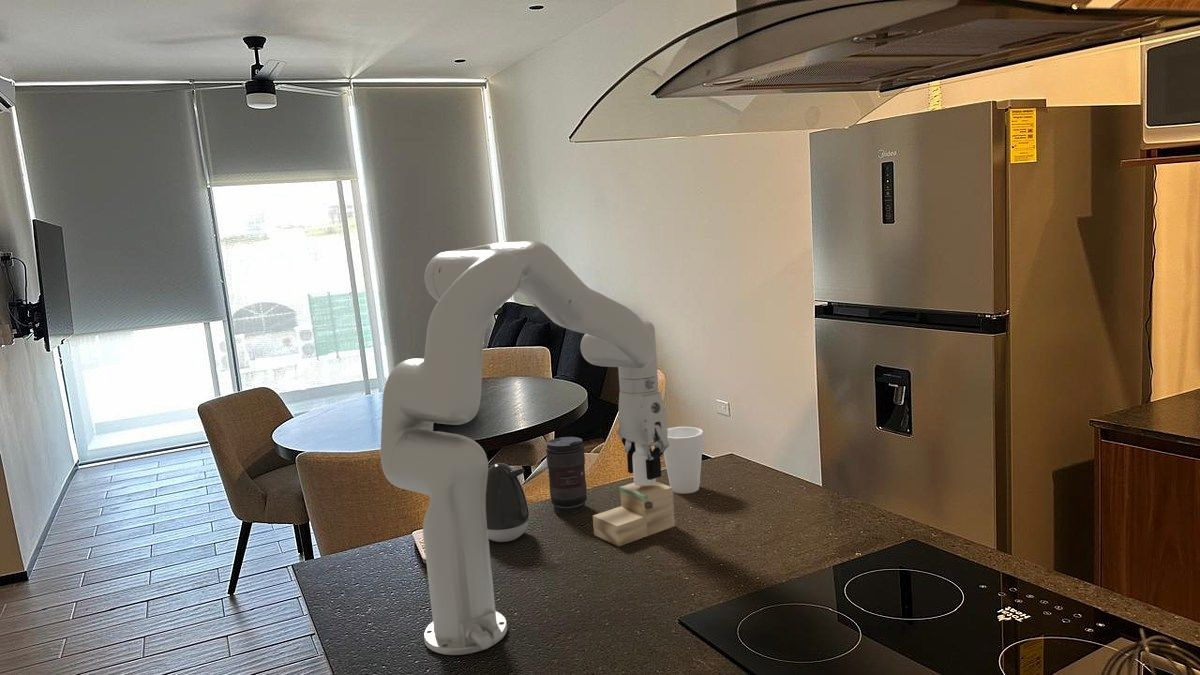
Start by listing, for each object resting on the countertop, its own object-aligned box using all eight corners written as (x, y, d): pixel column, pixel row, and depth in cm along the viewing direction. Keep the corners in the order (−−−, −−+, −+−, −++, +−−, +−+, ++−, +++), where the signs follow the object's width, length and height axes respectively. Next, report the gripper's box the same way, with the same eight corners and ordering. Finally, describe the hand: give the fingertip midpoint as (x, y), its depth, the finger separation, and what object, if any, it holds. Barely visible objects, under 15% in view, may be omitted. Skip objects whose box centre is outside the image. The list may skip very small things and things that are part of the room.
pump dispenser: (519, 549, 159) (512, 472, 157) (470, 545, 163) (463, 470, 160) (540, 528, 169) (533, 456, 167) (493, 526, 172) (486, 455, 170)
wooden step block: (678, 527, 164) (675, 488, 163) (621, 548, 156) (619, 507, 155) (649, 515, 172) (646, 478, 170) (593, 534, 164) (590, 495, 162)
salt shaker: (636, 479, 167) (634, 433, 166) (656, 479, 166) (653, 433, 165) (633, 486, 163) (630, 439, 162) (653, 486, 163) (651, 439, 161)
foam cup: (661, 496, 183) (658, 438, 181) (665, 482, 192) (662, 427, 190) (705, 495, 181) (702, 437, 179) (707, 481, 190) (704, 426, 188)
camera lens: (595, 504, 181) (590, 437, 178) (574, 517, 174) (569, 447, 172) (565, 499, 185) (559, 434, 183) (543, 512, 178) (537, 444, 176)
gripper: (682, 386, 157) (687, 479, 160) (627, 376, 171) (632, 461, 174) (651, 394, 153) (657, 489, 156) (597, 382, 167) (603, 470, 169)
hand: (644, 473), depth 165 cm, fingers closed on salt shaker, 5 cm apart
